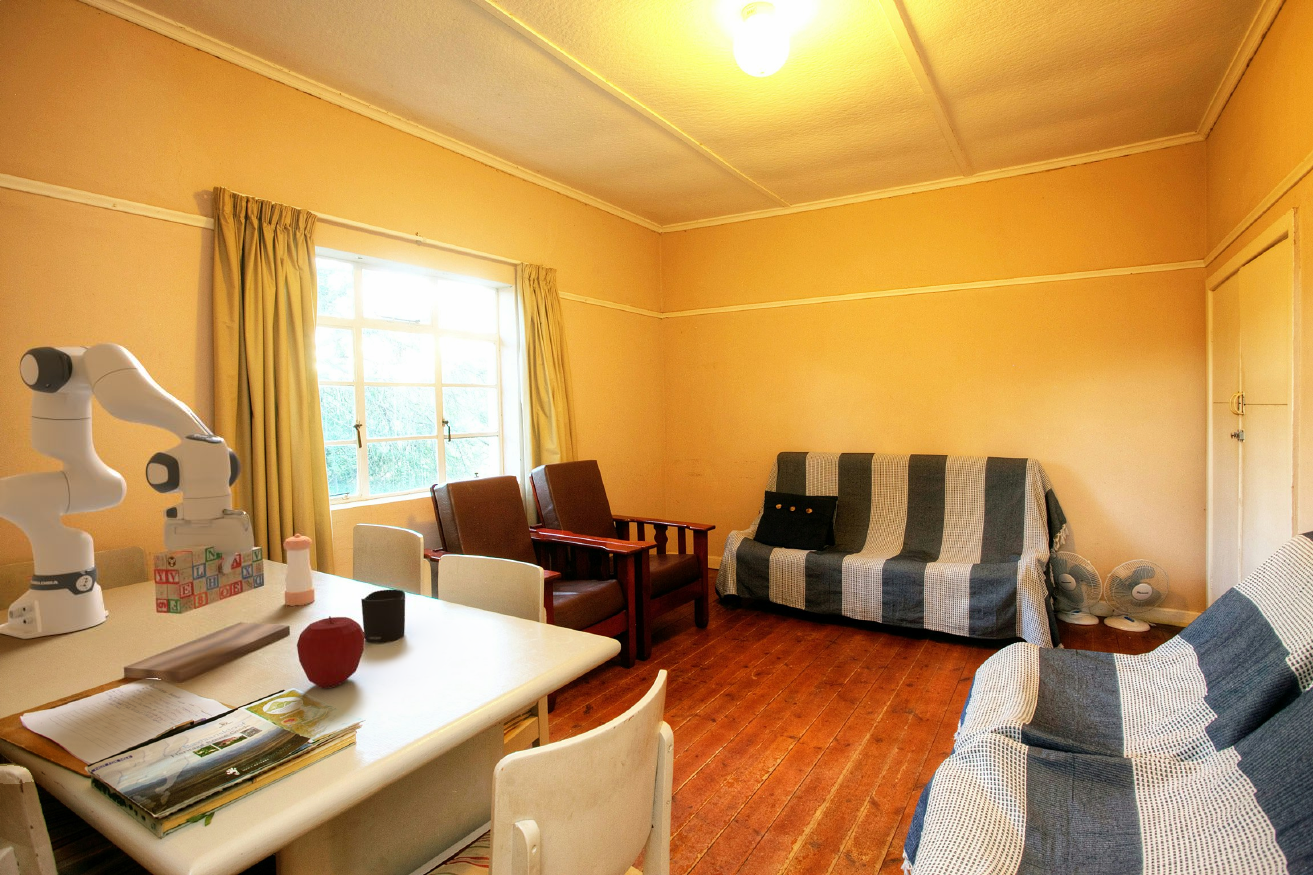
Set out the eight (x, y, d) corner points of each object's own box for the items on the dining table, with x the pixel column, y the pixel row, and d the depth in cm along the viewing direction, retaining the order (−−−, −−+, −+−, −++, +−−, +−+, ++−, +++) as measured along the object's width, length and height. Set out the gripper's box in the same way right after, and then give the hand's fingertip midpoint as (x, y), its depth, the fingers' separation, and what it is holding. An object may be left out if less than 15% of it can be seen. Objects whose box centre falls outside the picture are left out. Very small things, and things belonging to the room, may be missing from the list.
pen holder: (355, 637, 152) (354, 595, 151) (395, 627, 159) (393, 587, 158) (373, 647, 145) (372, 603, 145) (413, 636, 152) (412, 594, 152)
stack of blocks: (242, 585, 154) (240, 533, 153) (264, 586, 153) (262, 534, 152) (155, 612, 133) (152, 553, 133) (180, 614, 132) (178, 553, 131)
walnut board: (124, 676, 131) (123, 667, 131) (240, 630, 158) (239, 622, 158) (181, 682, 128) (181, 672, 128) (289, 633, 155) (289, 625, 155)
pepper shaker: (306, 596, 186) (304, 530, 185) (319, 601, 182) (317, 533, 181) (280, 603, 180) (277, 534, 179) (292, 607, 176) (290, 537, 175)
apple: (361, 691, 122) (358, 622, 122) (291, 700, 119) (289, 628, 118) (369, 667, 134) (367, 603, 133) (306, 675, 130) (304, 609, 130)
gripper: (260, 507, 142) (262, 570, 143) (183, 506, 147) (185, 566, 147) (236, 512, 136) (238, 577, 137) (156, 510, 141) (159, 573, 141)
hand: (210, 571), depth 142 cm, fingers closed on stack of blocks, 6 cm apart
